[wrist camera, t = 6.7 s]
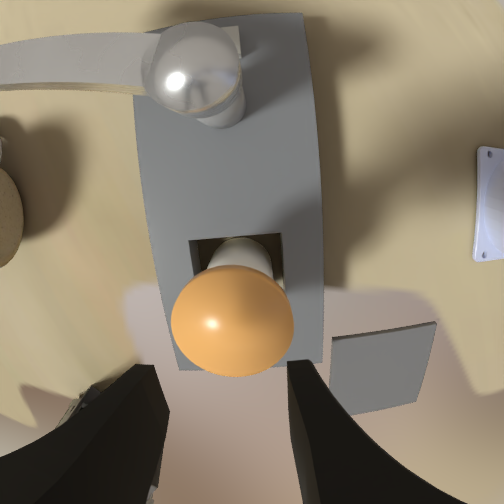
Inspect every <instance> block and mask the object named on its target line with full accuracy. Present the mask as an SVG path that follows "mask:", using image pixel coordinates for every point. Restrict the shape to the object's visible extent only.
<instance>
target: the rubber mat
mask: <svg viewBox="0 0 504 504" xmlns="http://www.w3.org/2000/svg"><path fill="white" fill-rule="evenodd" d="M436 325H437V324H436V322H435V321H433V322H428V323H422V324H417V325H412V326H406V327H400V328H394V329H388V330H381V331H376V332H368V333H361V334H354V335H346V336H338V337H332V350H331V366H330V381H329V390H330V391H331V393H332V394H333V395H334V397H335V398H336V399H337V400H338V402H339V403H340V404H341V405H342V407H343V408H344V409H345V410H346V412H347V413H348V414H349V415H356V414H362V413H367V412H372V411H378V410H382V409H387V408H392V407H396V406H400V405H404V404H408V403H413V402H416V400H417V397H418V394H419V391H420V388H421V384H422V381H423V378H424V374H425V370H426V367H427V363H428V360H429V356H430V351H431V347H432V343H433V339H434V335H435V330H436Z"/></svg>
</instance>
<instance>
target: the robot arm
mask: <svg viewBox="0 0 504 504" xmlns="http://www.w3.org/2000/svg"><path fill="white" fill-rule="evenodd" d="M488 152H489V157H488V155H487V154H488ZM483 252H484V255H483V256H482V254H483ZM472 255H473V259H474V260H475V261H476V262H483V261H490V260H497V259H504V149H500V148H493V147H485V146H480V147H479V148H478V150H477V210H476V225H475V236H474V246H473V254H472ZM287 381H288V410H289V422H290V436H291V443H292V448H293V453H294V458H295V463H296V468H297V474H298V479H299V484H300V489H301V495H302V500H303V504H467V503H465V502H462V501H460V500H458V499H456V498H454V497H452V496H450V495H448V494H447V493H445V492H443V491H441V490H439V489H437V488H436V487H434V486H433V485H431V484H429V483H428V482H426V481H425V480H423V479H422V478H420V477H419V476H417V475H416V474H414V473H413V472H411V471H410V470H408V469H407V468H405V467H404V466H403V465H401V464H400V463H399V462H398V461H397V460H395V459H394V458H393V457H391V456H390V455H389V454H388V453H387V452H386V451H385V450H383V449H382V448H381V447H380V446H379V445H378V444H377V443H375V441H373V440H372V439H371V438H370V437H369V436H368V435H367V434H366V433H365V432H364V431H363V429H362V428H361V427H360V426H359V425H358V424H357V423H356V422H355V421H354V420H353V419H352V418H351V416H350V415H349V414H348V413H347V412H346V410H345V409H344V408H343V407H342V405H341V404H340V403H339V402H338V400H337V399H336V398H335V397H334V395H333V394H332V393H331V391H330V390H329V388H328V387H327V386H326V384H325V383H324V381H323V380H322V378H321V377H320V375H319V373H318V372H317V370H316V369H315V367H314V365H313V363H312V361H310V360H309V359H304V360H293V361H287ZM169 414H170V411H169V408H168V405H167V402H166V400H165V397H164V394H163V391H162V388H161V385H160V382H159V380H158V377H157V374H156V371H155V367H154V365H142V364H135V365H134V366H133V367H131V368H130V369H129V370H128V371H127V372H125V373H124V374H123V375H122V376H121V377H120V378H118V379H117V380H116V381H115V382H114V383H113V384H112V385H110V386H109V387H108V388H107V389H106V390H105V391H103V392H102V393H101V394H100V395H99V396H97V397H96V398H95V399H94V400H93V401H92V402H90V403H89V404H88V405H87V406H85V407H84V408H83V409H81V410H80V411H79V412H78V413H76V414H75V415H74V416H72V417H71V418H70V419H68V420H67V421H66V422H64V423H63V424H62V425H60V426H59V427H57V428H56V429H54V430H53V431H51V432H49V433H48V434H46V435H45V436H43V437H41V438H40V439H38V440H36V441H34V442H32V443H30V444H28V445H26V446H24V447H22V448H20V449H18V450H16V451H14V452H11V453H9V454H7V455H5V456H2V457H0V504H146V501H147V497H148V493H149V490H150V487H151V484H152V480H153V477H154V474H155V471H156V468H157V464H158V461H159V458H160V455H161V452H162V448H163V445H164V441H165V438H166V432H167V426H168V420H169Z"/></svg>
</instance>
